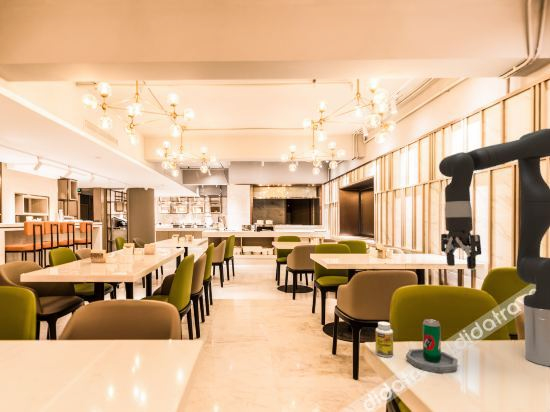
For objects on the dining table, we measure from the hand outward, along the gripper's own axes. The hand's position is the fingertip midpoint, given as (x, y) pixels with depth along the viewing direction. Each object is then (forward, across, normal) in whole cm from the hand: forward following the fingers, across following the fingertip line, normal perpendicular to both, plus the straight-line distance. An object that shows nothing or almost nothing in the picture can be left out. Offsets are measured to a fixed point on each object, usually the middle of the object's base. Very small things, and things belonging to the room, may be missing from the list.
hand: (460, 267), depth 104 cm
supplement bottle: (+30, +12, +21) cm, 38 cm away
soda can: (+29, +2, +10) cm, 31 cm away
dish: (+30, +2, +10) cm, 31 cm away
